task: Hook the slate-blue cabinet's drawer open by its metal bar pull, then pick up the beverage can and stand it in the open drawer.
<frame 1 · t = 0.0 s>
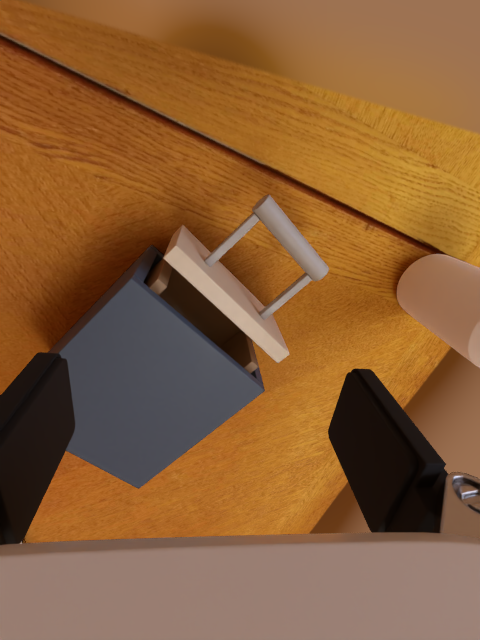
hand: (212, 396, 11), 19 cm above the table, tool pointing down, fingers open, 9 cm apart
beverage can: (421, 281, 31), on the table
drawer: (201, 317, 26), point 4 cm above the table, slide at 2.0 cm
cabinet: (152, 342, 31), on the table
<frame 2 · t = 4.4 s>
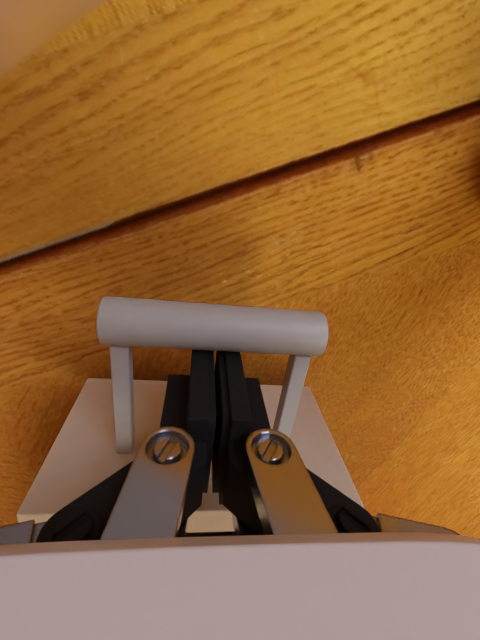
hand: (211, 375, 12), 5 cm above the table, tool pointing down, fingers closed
drawer: (198, 488, 15), point 4 cm above the table, slide at 2.4 cm
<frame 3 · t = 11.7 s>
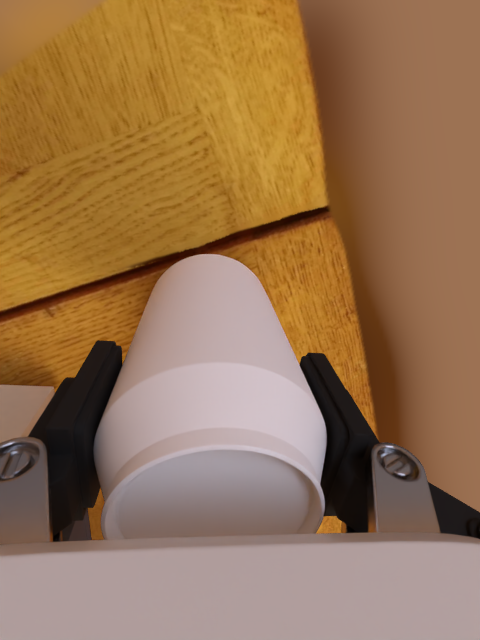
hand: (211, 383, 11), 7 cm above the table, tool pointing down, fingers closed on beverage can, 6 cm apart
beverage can: (209, 302, 18), on the table, touching gripper
cabinet: (10, 552, 26), on the table
when the fingers open (9 cm above the table, at t = 18.6 s): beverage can stays where it is, resting on drawer.
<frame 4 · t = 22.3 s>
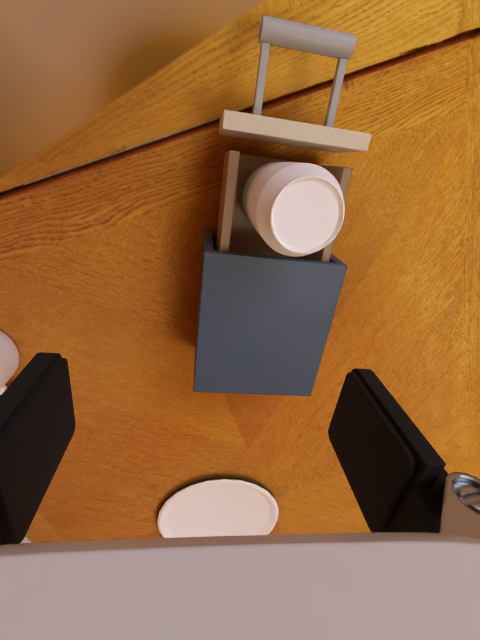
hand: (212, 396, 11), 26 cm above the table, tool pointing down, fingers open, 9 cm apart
plate: (218, 513, 56), on the table
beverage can: (272, 196, 31), point 2 cm above the table, touching drawer
drawer: (281, 173, 28), point 4 cm above the table, slide at 8.9 cm, touching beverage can
cabinet: (252, 298, 38), on the table
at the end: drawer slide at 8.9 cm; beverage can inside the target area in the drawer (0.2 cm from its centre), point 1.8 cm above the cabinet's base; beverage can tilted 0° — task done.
